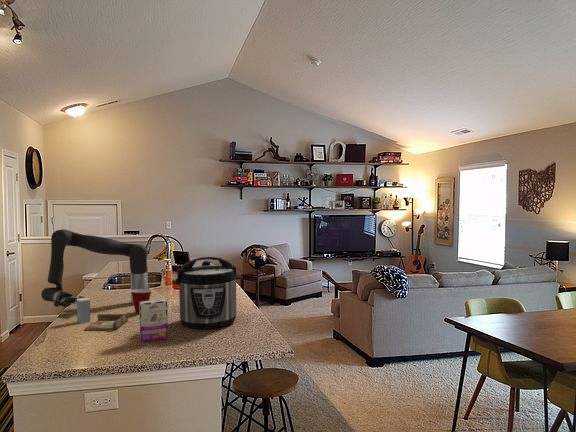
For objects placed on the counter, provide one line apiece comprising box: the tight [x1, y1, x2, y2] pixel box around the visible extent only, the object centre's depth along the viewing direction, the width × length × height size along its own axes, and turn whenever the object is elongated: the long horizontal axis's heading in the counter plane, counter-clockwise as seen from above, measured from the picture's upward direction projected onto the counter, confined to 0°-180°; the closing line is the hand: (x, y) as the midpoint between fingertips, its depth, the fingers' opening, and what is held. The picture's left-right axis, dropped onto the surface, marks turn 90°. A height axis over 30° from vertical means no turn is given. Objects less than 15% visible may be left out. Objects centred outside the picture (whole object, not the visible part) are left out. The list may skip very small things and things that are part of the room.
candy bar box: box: [138, 298, 169, 343], centre depth 182 cm, size 11×5×16 cm, turn 114°
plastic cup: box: [130, 289, 153, 315], centre depth 226 cm, size 11×11×12 cm
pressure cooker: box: [171, 256, 243, 330], centre depth 207 cm, size 30×28×32 cm
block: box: [76, 297, 91, 324], centre depth 209 cm, size 5×5×11 cm
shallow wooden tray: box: [84, 313, 129, 332], centre depth 202 cm, size 15×14×4 cm
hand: (74, 303), depth 216 cm, fingers open, 8 cm apart
